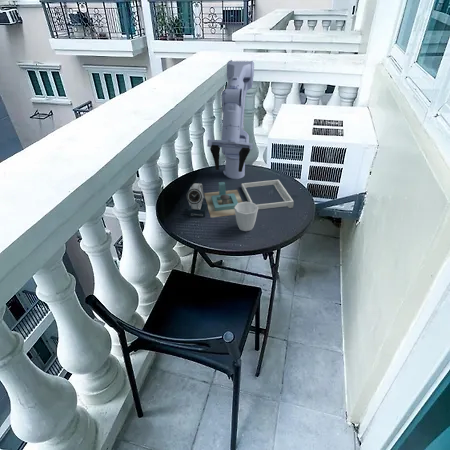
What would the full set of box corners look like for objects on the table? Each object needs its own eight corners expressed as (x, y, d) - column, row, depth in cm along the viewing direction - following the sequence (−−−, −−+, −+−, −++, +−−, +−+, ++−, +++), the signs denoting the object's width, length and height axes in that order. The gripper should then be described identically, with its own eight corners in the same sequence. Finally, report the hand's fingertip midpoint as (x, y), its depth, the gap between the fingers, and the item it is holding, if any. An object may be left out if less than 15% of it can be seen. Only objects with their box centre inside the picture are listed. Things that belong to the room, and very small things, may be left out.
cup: (233, 236, 98) (233, 213, 93) (235, 217, 106) (235, 195, 101) (257, 237, 97) (258, 214, 92) (257, 218, 105) (258, 196, 101)
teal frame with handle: (210, 195, 115) (210, 183, 113) (232, 193, 117) (232, 180, 114) (215, 211, 107) (214, 197, 105) (239, 208, 108) (239, 195, 106)
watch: (186, 221, 104) (183, 191, 98) (193, 208, 111) (190, 178, 105) (204, 223, 104) (202, 192, 97) (209, 209, 110) (207, 180, 104)
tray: (241, 189, 121) (241, 183, 120) (278, 185, 123) (278, 179, 121) (252, 212, 108) (252, 206, 107) (293, 207, 110) (293, 201, 109)
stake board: (204, 195, 118) (203, 186, 116) (237, 192, 119) (237, 183, 117) (210, 220, 105) (210, 210, 103) (247, 215, 107) (247, 206, 104)
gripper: (210, 123, 100) (208, 168, 101) (256, 127, 103) (253, 171, 104) (207, 127, 107) (205, 169, 108) (250, 131, 110) (247, 172, 111)
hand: (228, 170), depth 107 cm, fingers open, 7 cm apart
